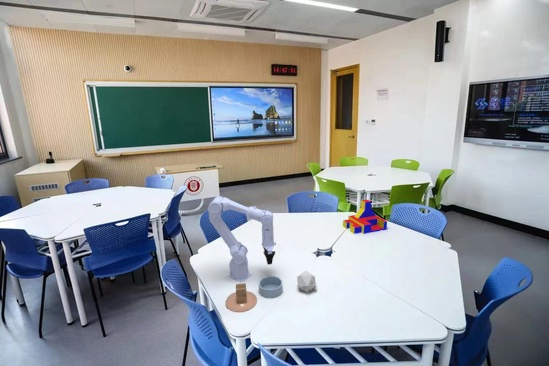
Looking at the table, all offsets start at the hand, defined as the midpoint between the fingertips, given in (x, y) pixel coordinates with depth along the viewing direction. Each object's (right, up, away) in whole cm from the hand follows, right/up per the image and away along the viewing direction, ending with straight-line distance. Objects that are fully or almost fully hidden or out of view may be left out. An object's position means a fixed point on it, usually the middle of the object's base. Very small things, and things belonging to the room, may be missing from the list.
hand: (268, 260), depth 144 cm
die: (+18, -12, -8) cm, 23 cm away
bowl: (+1, -12, -9) cm, 15 cm away
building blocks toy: (+67, +7, +60) cm, 90 cm away
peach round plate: (-12, -14, -17) cm, 25 cm away
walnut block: (-12, -13, -17) cm, 24 cm away
